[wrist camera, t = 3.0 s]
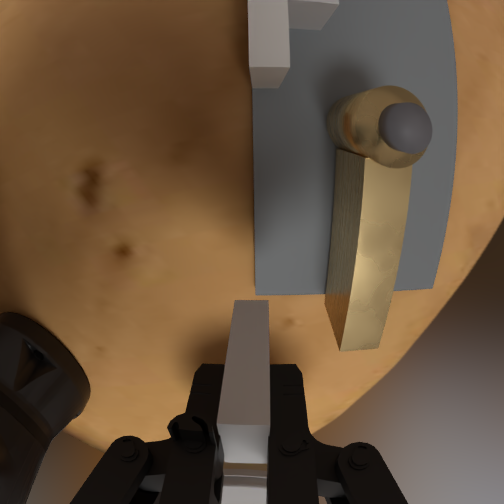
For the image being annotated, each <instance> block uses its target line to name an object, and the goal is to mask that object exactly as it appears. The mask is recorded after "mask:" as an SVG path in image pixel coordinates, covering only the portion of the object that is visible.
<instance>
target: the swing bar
mask: <svg viewBox="0 0 504 504" xmlns="http://www.w3.org/2000/svg"><path fill="white" fill-rule="evenodd" d="M405 102H411V103H415V104H417V105H419V106H420V107H422V108H423V109H424V110H425V108H424V106H423V104H422V103H421V102H420V100H419V99H418V98H417V97H416V96H415V95H414V94H412V93H411V92H410V91H408V90H406V89H404V88H401V87H398V86H392V85H389V86H381V87H378V88H374V89H370V90H366V91H363V92H359V93H356V94H352V95H349V96H345V97H343V98H341V99H339V100H337V101H336V102H335V103H334V104H333V105H332V107H331V108H330V110H329V112H328V115H327V122H326V123H327V131H328V134H329V136H330V138H331V140H332V141H333V143H334V144H335V145H336V146H337V147H338V148H336V168H335V190H334V207H333V222H332V235H331V247H330V257H329V267H328V277H327V286H326V295H325V303H324V304H325V307H326V310H327V313H328V316H329V319H330V323H331V326H332V329H333V332H334V335H335V338H336V341H337V345H338V348H339V351H340V352H341V351H354V350H365V349H375V348H378V347H379V343H380V340H381V336H382V333H383V329H384V326H385V322H386V318H387V314H388V311H389V307H390V303H391V298H392V294H393V290H394V285H395V281H396V276H397V271H398V266H399V261H400V256H401V251H402V245H403V239H404V233H405V226H406V220H407V212H408V205H409V196H410V187H411V177H412V165H413V164H414V163H416V162H417V161H418V160H419V159H420V158H421V157H422V156H423V154H424V153H425V151H426V149H427V148H426V149H424V150H423V151H422V152H420V153H416V154H409V153H405V152H401V151H397V150H394V149H392V148H390V147H389V146H388V145H386V143H385V142H384V141H383V139H382V138H381V135H380V133H379V128H378V122H379V117H380V114H381V112H382V111H383V110H384V109H385V108H386V107H387V106H389V105H391V104H394V103H405ZM425 111H426V110H425ZM426 113H427V112H426ZM427 147H428V146H427ZM339 148H340V149H339Z"/></svg>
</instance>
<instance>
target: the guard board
mask: <svg viewBox="0 0 504 504" xmlns="http://www.w3.org/2000/svg"><path fill="white" fill-rule="evenodd" d="M248 35H249V70H250V76H251V83H252V103H253V159H254V220H255V288H256V295H308V294H326V286H327V277H328V267H329V257H330V247H331V235H332V222H333V207H334V190H335V168H336V148H338V147H337V146H336V145H335V144H334V143H333V141H332V140H331V138H330V136H329V134H328V131H327V123H326V122H327V115H328V112H329V110H330V108H331V107H332V105H333V104H334V103H335V102H336V101H337V100H339V99H341V98H343V97H345V96H349V95H352V94H356V93H359V92H363V91H366V90H370V89H374V88H378V87H381V86H389V85H392V86H398V87H401V88H404V89H406V90H408V91H410V92H411V93H412V94H414V95H415V96H416V97H417V98H418V99H419V100H420V102H421V103H422V104H423V106H424V108H425V110H426V111H425V110H424V109H423V108H422V107H420V106H419V105H417V104H415V103H411V102H405V103H394V104H391V105H389V106H387V107H386V108H385V109H384V110H383V111H382V112H381V114H380V117H379V122H378V128H379V133H380V135H381V138H382V139H383V141H384V142H385V143H386V145H388V146H389V147H390V148H392V149H394V150H397V151H401V152H405V153H409V154H416V153H420V152H422V151H423V150H424V149H426V148H427V149H426V151H425V153H424V154H423V156H422V157H421V158H420V159H419V160H418V161H417V162H416V163H414V164H413V165H412V177H411V187H410V196H409V205H408V212H407V220H406V226H405V233H404V239H403V245H402V251H401V256H400V261H399V266H398V271H397V276H396V281H395V285H394V290H393V291H402V290H417V289H431V288H433V284H434V280H435V277H436V273H437V269H438V265H439V260H440V256H441V252H442V247H443V242H444V237H445V232H446V227H447V221H448V216H449V209H450V203H451V196H452V188H453V180H454V170H455V159H456V144H457V76H456V62H455V51H454V42H453V34H452V27H451V21H450V15H449V9H448V4H447V0H248ZM426 112H427V113H426ZM427 146H428V147H427ZM339 149H340V148H339Z"/></svg>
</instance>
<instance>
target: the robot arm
mask: <svg viewBox="0 0 504 504" xmlns="http://www.w3.org/2000/svg"><path fill="white" fill-rule="evenodd" d="M304 394H305V393H304V387H303V377H302V373H301V371H300V370H299V368H298V367H297V366H296V364H270V357H269V304H268V300H235V302H234V309H233V315H232V322H231V329H230V335H229V342H228V349H227V355H226V362H225V365H224V364H202V365H201V366H200V367H199V368H198V370H197V371H196V372H195V375H194V379H193V383H192V387H191V391H190V395H189V399H188V403H187V408H186V412H185V413H183V414H180V415H178V416H176V417H175V418H173V419H172V420H171V421H170V423H169V425H168V427H167V428H168V431H169V433H170V435H171V438H169V439H166V440H162V441H155V442H146V443H145V442H144V441H143V440H141V439H140V438H138V437H134V436H123V437H120V438H118V439H116V440H115V441H114V442H113V443H112V444H111V445H110V447H109V448H108V450H107V451H106V452H105V454H104V455H103V457H102V458H101V460H100V461H99V463H98V464H97V465H96V467H95V468H94V470H93V471H92V473H91V474H90V475H89V477H88V478H87V480H86V481H85V482H84V484H83V485H82V487H81V488H80V490H79V491H78V493H77V494H76V495H75V497H74V498H73V500H72V501H71V502H70V504H221V502H222V492H223V482H224V473H223V464H224V461H225V462H229V463H259V464H267V481H266V485H267V492H266V504H319V499H318V496H323V497H325V499H326V501H327V504H408V503H407V501H406V499H405V497H404V495H403V494H402V492H401V490H400V488H399V487H398V485H397V483H396V481H395V480H394V478H393V476H392V474H391V472H390V471H389V469H388V467H387V465H386V464H385V462H384V460H383V458H382V456H381V455H380V453H379V451H378V450H377V449H376V448H375V447H374V446H372V445H370V444H368V443H363V442H356V443H351V444H349V445H348V446H346V447H344V448H341V447H336V446H330V445H326V444H323V443H321V442H319V441H317V440H316V439H315V438H314V437H313V436H312V435H311V433H310V431H309V427H308V419H307V410H306V402H305V395H304ZM89 398H90V387H89V383H88V381H87V378H86V376H85V374H84V372H83V371H82V369H81V367H80V366H79V364H78V363H77V362H76V360H75V359H74V358H73V357H72V355H71V354H70V353H69V352H68V351H67V350H66V348H65V347H64V346H63V345H62V344H61V343H60V342H59V341H58V340H57V339H55V338H54V337H53V336H52V335H51V334H50V333H49V332H47V331H46V330H45V329H43V328H42V327H41V326H39V325H38V324H36V323H35V322H33V321H32V320H30V319H28V318H26V317H24V316H22V315H19V314H16V313H11V312H6V313H2V314H0V504H26V501H27V499H28V496H29V493H30V491H31V488H32V485H33V483H34V480H35V478H36V475H37V473H38V470H39V468H40V466H41V463H42V461H43V458H44V456H45V453H46V451H47V449H48V447H49V445H50V443H51V441H52V440H53V438H54V437H55V436H56V435H57V434H58V433H60V431H62V430H63V429H64V428H65V427H66V426H67V425H68V424H69V423H70V422H71V420H72V419H75V418H77V417H78V416H79V415H80V414H81V413H82V412H83V410H84V408H85V406H86V404H87V402H88V400H89Z"/></svg>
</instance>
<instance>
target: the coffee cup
mask: <svg viewBox="0 0 504 504" xmlns="http://www.w3.org/2000/svg"><path fill="white" fill-rule="evenodd" d="M223 473H224V482H223V492H222V502H221V504H266V492H267V485H266V481H267V464H259V463H229V462H225V461H224V464H223Z"/></svg>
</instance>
